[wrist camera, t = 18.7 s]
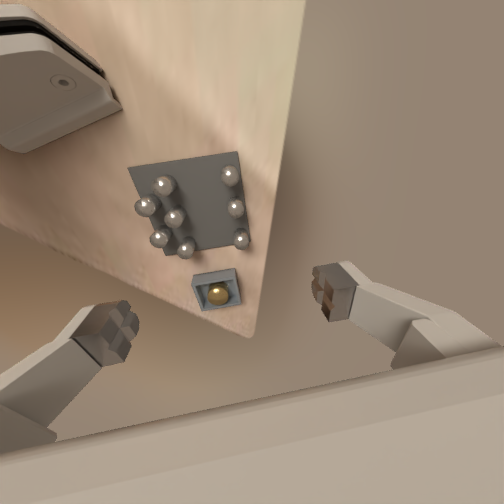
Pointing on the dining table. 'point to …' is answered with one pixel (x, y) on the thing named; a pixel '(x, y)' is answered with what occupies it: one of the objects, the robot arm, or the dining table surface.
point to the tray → (205, 279)
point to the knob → (218, 293)
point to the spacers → (178, 213)
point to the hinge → (45, 82)
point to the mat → (195, 199)
